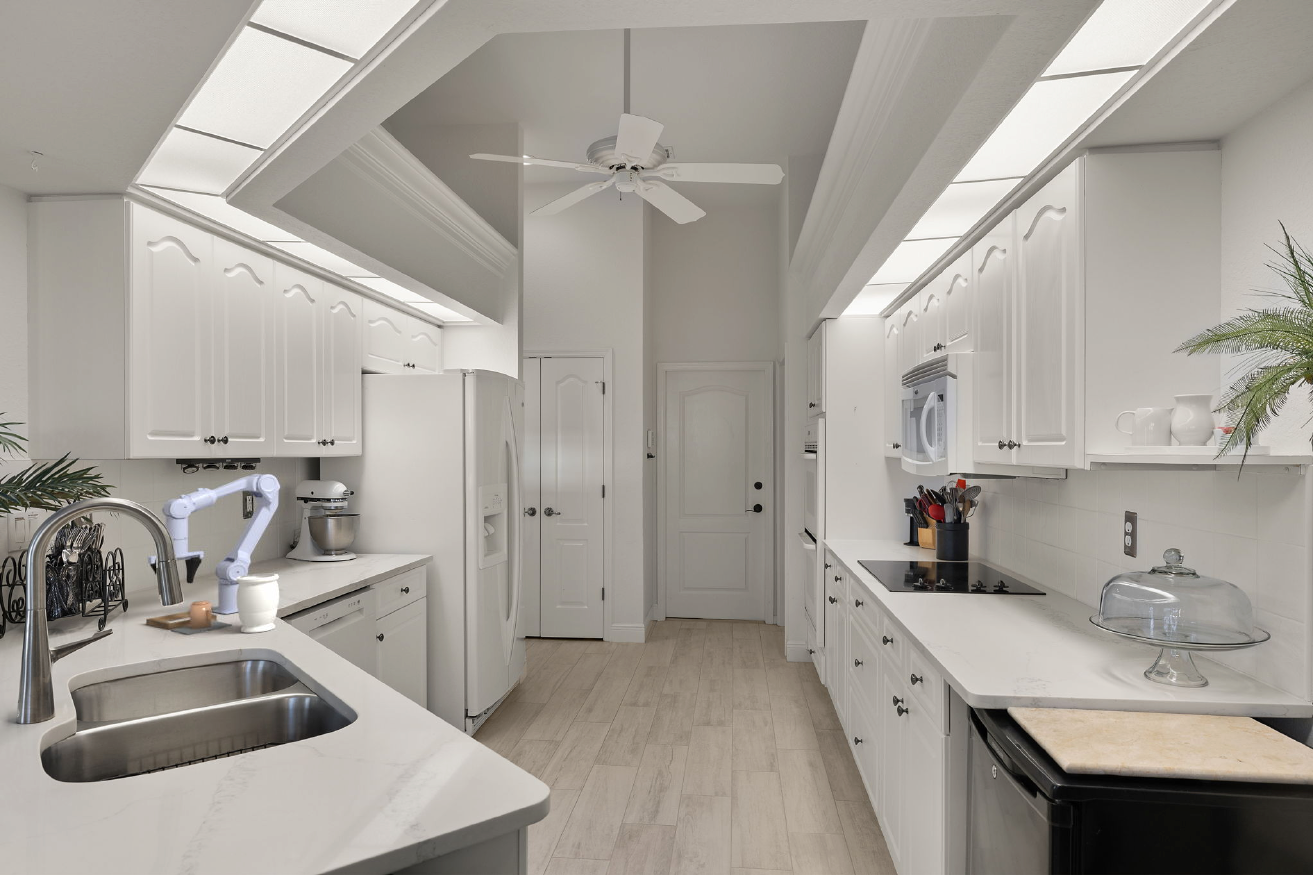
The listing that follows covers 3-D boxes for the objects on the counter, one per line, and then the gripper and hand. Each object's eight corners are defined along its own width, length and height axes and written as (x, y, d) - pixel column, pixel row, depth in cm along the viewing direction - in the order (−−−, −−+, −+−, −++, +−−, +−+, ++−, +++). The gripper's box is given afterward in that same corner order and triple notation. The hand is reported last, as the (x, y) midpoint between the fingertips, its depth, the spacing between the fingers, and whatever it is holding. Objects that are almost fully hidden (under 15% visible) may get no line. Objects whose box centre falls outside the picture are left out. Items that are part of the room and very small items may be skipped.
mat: (215, 622, 216) (215, 620, 216) (231, 625, 212) (231, 624, 212) (170, 631, 206) (170, 629, 206) (187, 634, 201) (187, 633, 201)
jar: (227, 633, 203) (227, 578, 203) (257, 624, 213) (257, 572, 213) (258, 635, 200) (258, 579, 200) (287, 626, 210) (287, 573, 210)
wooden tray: (193, 615, 225) (193, 610, 225) (216, 620, 219) (216, 615, 219) (146, 624, 214) (146, 618, 214) (168, 629, 208) (168, 624, 208)
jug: (185, 628, 207) (185, 603, 207) (202, 624, 212) (202, 599, 212) (202, 629, 205) (201, 604, 205) (217, 625, 210) (217, 601, 210)
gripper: (195, 536, 229) (194, 580, 228) (142, 540, 216) (142, 587, 216) (207, 537, 225) (207, 582, 225) (154, 542, 213) (154, 589, 212)
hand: (176, 584), depth 220 cm, fingers open, 7 cm apart
